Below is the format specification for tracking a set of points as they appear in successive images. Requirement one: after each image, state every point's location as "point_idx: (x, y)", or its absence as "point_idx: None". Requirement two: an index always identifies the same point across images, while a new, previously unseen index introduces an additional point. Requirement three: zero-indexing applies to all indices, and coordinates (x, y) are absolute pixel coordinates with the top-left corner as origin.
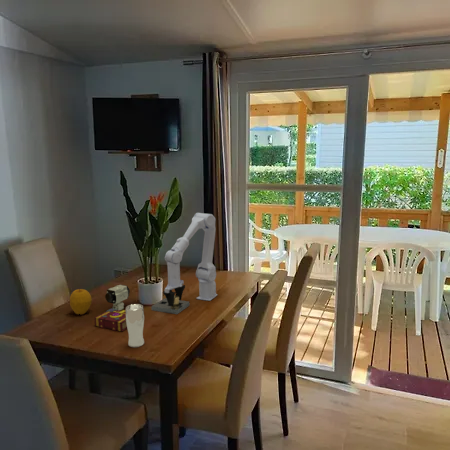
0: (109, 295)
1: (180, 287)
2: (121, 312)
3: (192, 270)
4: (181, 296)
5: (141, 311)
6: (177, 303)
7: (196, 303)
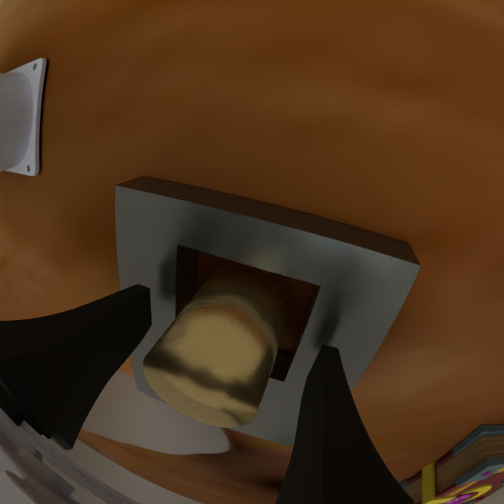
0: None
1: (30, 393)
2: (447, 499)
3: None
4: (110, 301)
5: None
6: (254, 307)
7: (92, 132)
